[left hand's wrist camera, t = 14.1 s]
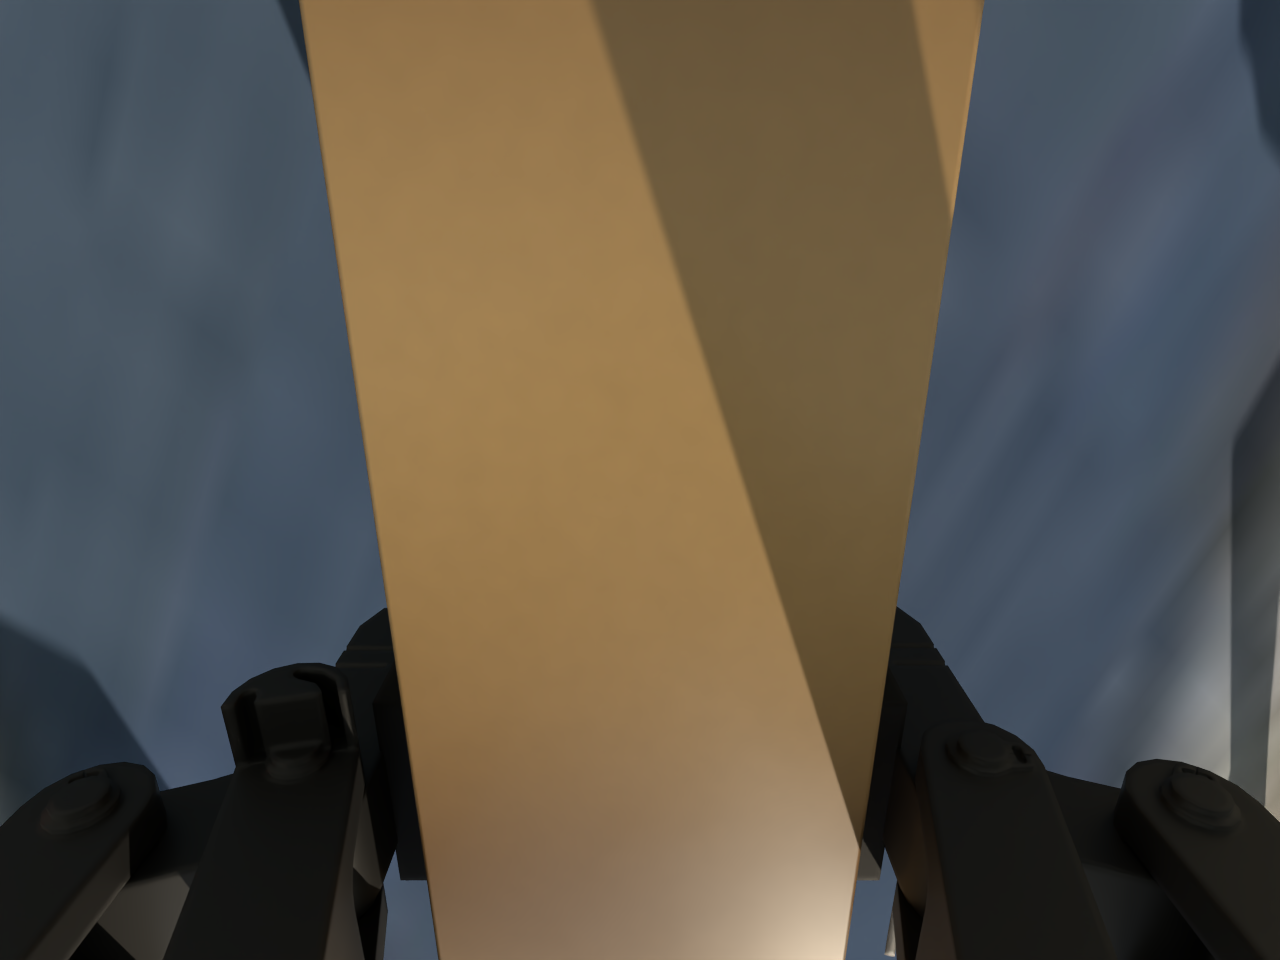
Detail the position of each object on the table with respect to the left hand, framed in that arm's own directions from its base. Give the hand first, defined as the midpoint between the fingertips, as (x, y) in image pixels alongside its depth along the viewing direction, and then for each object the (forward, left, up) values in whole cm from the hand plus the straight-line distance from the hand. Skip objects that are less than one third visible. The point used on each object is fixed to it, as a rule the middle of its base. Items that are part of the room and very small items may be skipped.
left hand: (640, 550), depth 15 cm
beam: (+27, +12, -1) cm, 29 cm away
